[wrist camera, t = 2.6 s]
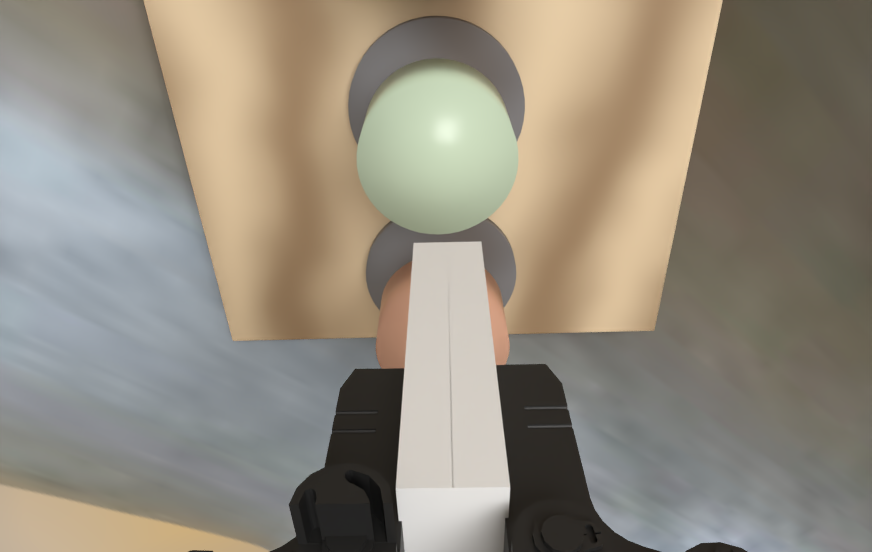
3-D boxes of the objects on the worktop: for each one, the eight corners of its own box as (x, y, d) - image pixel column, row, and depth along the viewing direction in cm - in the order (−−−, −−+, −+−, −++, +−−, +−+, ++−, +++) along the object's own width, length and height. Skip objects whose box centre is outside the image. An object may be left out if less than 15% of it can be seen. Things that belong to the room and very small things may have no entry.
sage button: (371, 200, 24) (363, 236, 22) (358, 60, 22) (348, 83, 19) (506, 196, 24) (515, 232, 22) (511, 56, 21) (522, 78, 19)
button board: (242, 318, 34) (229, 348, 32) (103, -250, 21) (65, -266, 19) (643, 308, 34) (657, 337, 31) (753, -273, 21) (791, -292, 18)
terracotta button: (385, 354, 29) (380, 400, 26) (376, 256, 26) (370, 296, 23) (500, 352, 29) (507, 397, 26) (504, 252, 26) (512, 292, 23)
